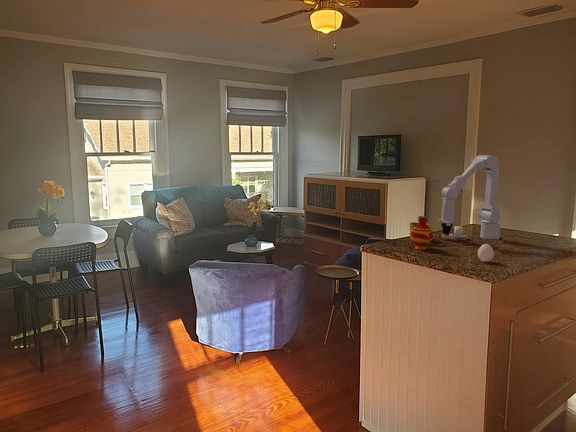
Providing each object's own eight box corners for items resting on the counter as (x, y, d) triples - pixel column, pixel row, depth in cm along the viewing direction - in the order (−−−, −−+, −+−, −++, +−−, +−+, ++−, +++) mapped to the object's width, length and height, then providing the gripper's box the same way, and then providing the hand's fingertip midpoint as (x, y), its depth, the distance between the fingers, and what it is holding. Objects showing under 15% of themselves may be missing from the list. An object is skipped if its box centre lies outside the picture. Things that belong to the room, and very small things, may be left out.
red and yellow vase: (432, 246, 215) (434, 215, 212) (431, 251, 205) (433, 219, 203) (409, 244, 218) (411, 214, 216) (408, 249, 209) (410, 217, 206)
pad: (452, 234, 240) (452, 234, 240) (451, 236, 235) (451, 236, 235) (442, 233, 242) (442, 233, 242) (441, 235, 238) (441, 235, 237)
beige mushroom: (464, 237, 234) (465, 226, 233) (463, 239, 229) (464, 228, 228) (452, 235, 237) (453, 225, 236) (451, 237, 231) (451, 227, 230)
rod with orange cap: (466, 236, 229) (466, 233, 229) (468, 237, 227) (469, 234, 227) (441, 236, 227) (441, 233, 226) (443, 237, 225) (444, 234, 224)
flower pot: (425, 239, 230) (427, 222, 229) (429, 243, 222) (430, 225, 220) (408, 239, 231) (409, 222, 230) (411, 242, 223) (412, 225, 221)
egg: (474, 261, 190) (475, 243, 188) (483, 259, 193) (484, 242, 191) (486, 264, 184) (488, 246, 183) (495, 262, 188) (497, 244, 186)
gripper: (438, 208, 233) (436, 234, 236) (440, 212, 219) (438, 239, 222) (452, 209, 232) (450, 235, 234) (456, 213, 218) (453, 240, 220)
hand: (445, 237), depth 228 cm, fingers closed, pressing on rod with orange cap
